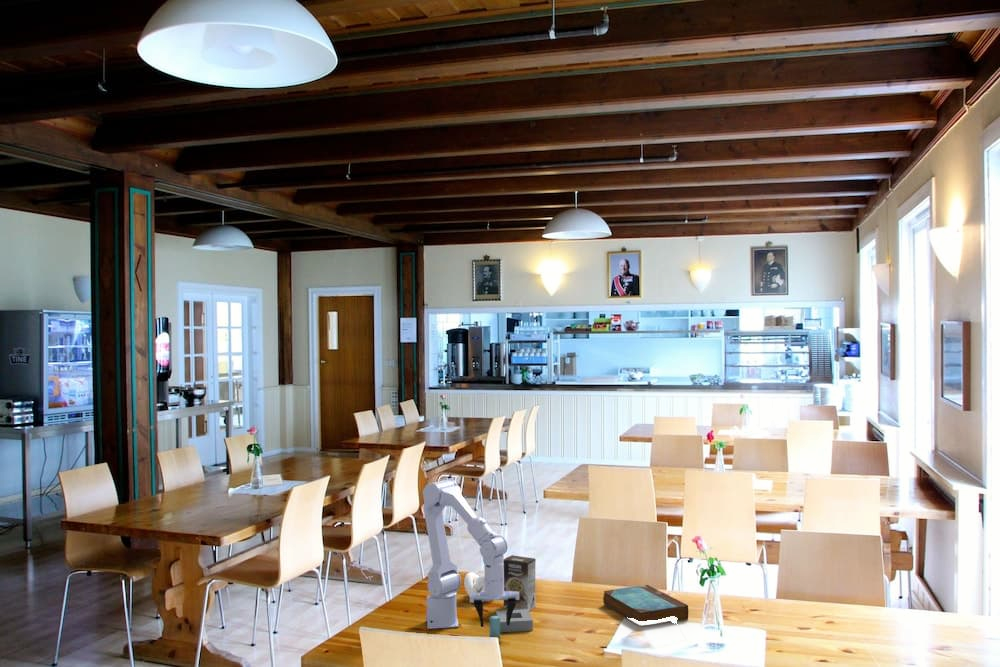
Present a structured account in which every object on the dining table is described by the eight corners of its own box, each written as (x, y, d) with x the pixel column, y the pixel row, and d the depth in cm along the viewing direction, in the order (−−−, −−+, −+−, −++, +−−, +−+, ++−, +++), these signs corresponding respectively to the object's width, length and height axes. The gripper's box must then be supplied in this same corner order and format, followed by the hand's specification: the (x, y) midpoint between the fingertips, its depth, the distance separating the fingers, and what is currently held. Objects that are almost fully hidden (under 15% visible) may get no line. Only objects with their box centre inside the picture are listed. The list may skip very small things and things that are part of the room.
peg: (490, 640, 228) (490, 619, 228) (489, 636, 231) (489, 616, 231) (500, 639, 228) (500, 619, 228) (499, 636, 231) (499, 615, 231)
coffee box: (502, 608, 255) (502, 559, 255) (511, 602, 261) (511, 554, 261) (528, 613, 251) (527, 562, 251) (536, 606, 256) (535, 557, 257)
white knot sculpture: (458, 595, 270) (458, 569, 270) (492, 591, 273) (491, 565, 274) (467, 605, 259) (466, 578, 259) (501, 601, 263) (501, 574, 263)
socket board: (499, 632, 234) (499, 622, 234) (496, 620, 244) (496, 610, 244) (532, 630, 236) (532, 620, 236) (527, 618, 245) (527, 609, 245)
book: (688, 620, 243) (688, 604, 243) (640, 629, 237) (639, 612, 237) (648, 599, 264) (647, 584, 264) (602, 606, 258) (602, 591, 258)
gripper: (470, 584, 225) (471, 631, 225) (520, 581, 227) (521, 628, 227) (468, 576, 232) (469, 622, 232) (517, 574, 234) (518, 619, 234)
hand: (495, 625), depth 230 cm, fingers open, 7 cm apart
